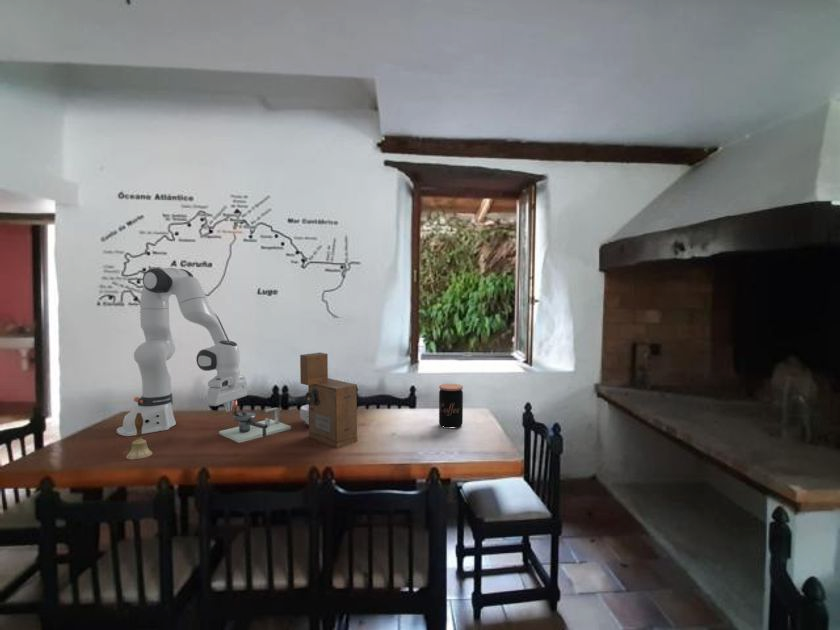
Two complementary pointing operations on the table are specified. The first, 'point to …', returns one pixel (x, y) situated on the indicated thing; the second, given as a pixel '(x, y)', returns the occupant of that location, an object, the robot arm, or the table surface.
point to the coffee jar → (450, 405)
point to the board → (253, 431)
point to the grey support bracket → (277, 416)
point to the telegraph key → (246, 420)
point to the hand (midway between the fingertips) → (228, 411)
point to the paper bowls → (305, 413)
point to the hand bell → (139, 442)
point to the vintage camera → (328, 402)
